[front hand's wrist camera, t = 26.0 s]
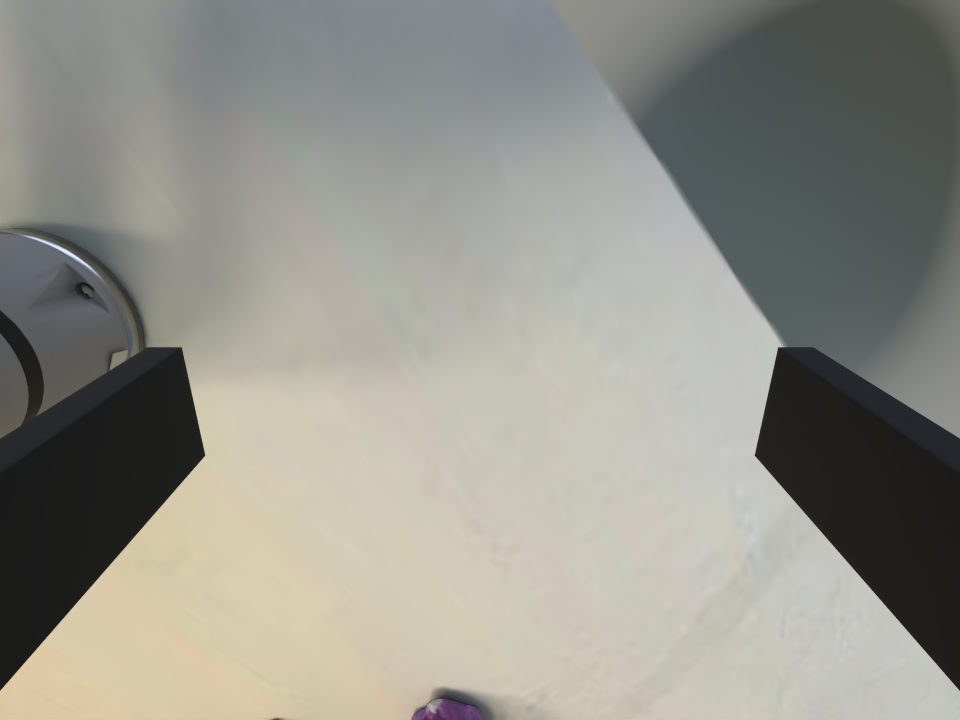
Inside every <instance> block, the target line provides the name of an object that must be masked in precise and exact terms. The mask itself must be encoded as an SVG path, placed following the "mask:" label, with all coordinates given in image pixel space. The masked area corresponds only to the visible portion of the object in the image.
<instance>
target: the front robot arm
mask: <svg viewBox="0 0 960 720" xmlns="http://www.w3.org/2000/svg"><path fill="white" fill-rule="evenodd" d="M143 347H144V344H143V332H142V327H141V323H140V319H139V316H138V314H137V311H136V309H135V306H134V304H133V302H132V300H131V299H130V297H129V295H128V293H127V292H126V290H125V289H124V287H123V286H122V285H121V283H120V282H119V281H118V280H117V278H116V277H115V276H114V275H113V274H112V273H111V272H110V271H109V270H108V269H107V268H106V267H105V266H104V265H103V264H102V263H101V262H100V261H99V260H97V259H96V258H95V257H93V256H92V255H91V254H89V253H88V252H86V251H85V250H83V249H82V248H80V247H78V246H77V245H75V244H73V243H71V242H69V241H67V240H65V239H62V238H60V237H57V236H54V235H52V234H48V233H44V232H40V231H35V230H28V229H6V230H0V690H1V689H2V688H3V687H4V686H5V685H6V683H7V682H8V681H9V680H10V679H11V678H12V677H13V675H14V674H15V673H16V672H17V671H18V670H19V669H20V667H21V666H22V665H23V664H24V663H25V662H26V661H27V659H28V658H29V657H30V656H31V655H32V654H33V652H34V651H35V650H36V649H37V648H38V647H39V646H40V644H41V643H42V642H43V641H44V640H45V639H46V638H47V636H48V635H49V634H50V633H51V632H52V631H53V630H54V628H55V627H56V626H57V625H58V624H59V623H60V622H61V620H62V619H63V618H64V617H65V616H66V615H67V613H68V612H69V611H70V610H71V609H72V608H73V607H74V605H75V604H76V603H77V602H78V601H79V600H80V599H81V597H82V596H83V595H84V594H85V593H86V592H87V591H88V589H89V588H90V587H91V586H92V585H93V584H94V583H95V581H96V580H97V579H98V578H99V577H100V576H101V574H102V573H103V572H104V571H105V570H106V569H107V568H108V566H109V565H110V564H111V563H112V562H113V561H114V560H115V558H116V557H117V556H118V555H119V554H120V553H121V552H122V550H123V549H124V548H125V547H126V546H127V545H128V544H129V542H130V541H131V540H132V539H133V538H134V537H135V535H136V534H137V533H138V532H139V531H140V530H141V529H142V527H143V526H144V525H145V524H146V523H147V522H148V521H149V519H150V518H151V517H152V516H153V515H154V514H155V513H156V511H157V510H158V509H159V508H160V507H161V506H162V505H163V503H164V502H165V501H166V500H167V499H168V498H169V496H170V495H171V494H172V493H173V492H174V491H175V490H176V488H177V487H178V486H179V485H180V484H181V483H182V482H183V480H184V479H185V478H186V477H187V476H188V475H189V474H190V472H191V471H192V470H193V469H194V468H195V467H196V466H197V464H198V463H199V462H200V461H201V460H202V459H203V457H204V456H205V452H204V448H203V443H202V439H201V434H200V429H199V425H198V420H197V416H196V411H195V406H194V402H193V397H192V393H191V388H190V383H189V379H188V374H187V370H186V365H185V360H184V356H183V351H182V347H147V348H145V349H144V350H143ZM755 456H756V457H757V459H758V460H759V461H760V462H761V463H762V464H763V466H764V467H765V468H766V469H767V470H768V471H769V472H770V474H771V475H772V476H773V477H774V478H775V479H776V480H777V482H778V483H779V484H780V485H781V486H782V487H783V488H784V490H785V491H786V492H787V493H788V494H789V495H790V496H791V498H792V499H793V500H794V501H795V502H796V503H797V505H798V506H799V507H800V508H801V509H802V510H803V511H804V513H805V514H806V515H807V516H808V517H809V518H810V519H811V521H812V522H813V523H814V524H815V525H816V526H817V527H818V529H819V530H820V531H821V532H822V533H823V534H824V535H825V537H826V538H827V539H828V540H829V541H830V542H831V544H832V545H833V546H834V547H835V548H836V549H837V550H838V552H839V553H840V554H841V555H842V556H843V557H844V558H845V560H846V561H847V562H848V563H849V564H850V565H851V566H852V568H853V569H854V570H855V571H856V572H857V573H858V574H859V576H860V577H861V578H862V579H863V580H864V581H865V583H866V584H867V585H868V586H869V587H870V588H871V589H872V591H873V592H874V593H875V594H876V595H877V596H878V597H879V599H880V600H881V601H882V602H883V603H884V604H885V605H886V607H887V608H888V609H889V610H890V611H891V612H892V613H893V615H894V616H895V617H896V618H897V619H898V620H899V622H900V623H901V624H902V625H903V626H904V627H905V628H906V630H907V631H908V632H909V633H910V634H911V635H912V636H913V638H914V639H915V640H916V641H917V642H918V643H919V644H920V646H921V647H922V648H923V649H924V650H925V651H926V652H927V654H928V655H929V656H930V657H931V658H932V659H933V661H934V662H935V663H936V664H937V665H938V666H939V667H940V669H941V670H942V671H943V672H944V673H945V674H946V675H947V677H948V678H949V679H950V680H951V681H952V682H953V683H954V685H955V686H956V687H957V688H958V689H959V690H960V438H958V437H956V436H955V435H953V434H952V433H950V432H948V431H947V430H945V429H944V428H942V427H940V426H939V425H937V424H935V423H934V422H932V421H931V420H929V419H927V418H926V417H924V416H923V415H921V414H919V413H918V412H916V411H915V410H913V409H911V408H910V407H908V406H907V405H905V404H903V403H902V402H900V401H898V400H897V399H895V398H894V397H892V396H890V395H889V394H887V393H886V392H884V391H882V390H881V389H879V388H878V387H876V386H874V385H873V384H871V383H869V382H868V381H866V380H865V379H863V378H861V377H860V376H858V375H857V374H855V373H853V372H852V371H850V370H849V369H847V368H845V367H844V366H842V365H841V364H839V363H837V362H836V361H834V360H833V359H831V358H829V357H828V356H826V355H824V354H823V353H821V352H820V351H818V350H816V349H815V348H813V347H778V351H777V356H776V360H775V365H774V370H773V374H772V379H771V383H770V388H769V393H768V397H767V402H766V406H765V411H764V416H763V420H762V425H761V429H760V434H759V439H758V443H757V448H756V452H755Z"/></svg>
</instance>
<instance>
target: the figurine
mask: <svg viewBox="0 0 960 720" xmlns="http://www.w3.org/2000/svg"><path fill="white" fill-rule="evenodd" d="M412 720H483V718H482V715H481V712H480V710H479V709H477V707H475V706H471V705H465V704H463V703H460V702H457V701H453V700H448V699H435V700H431V701H430V702H429V703H428V704H427V707H426V708H424V709H422V710H420V711H418V712H416V713H415V714H414V715H413V716H412Z"/></svg>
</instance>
